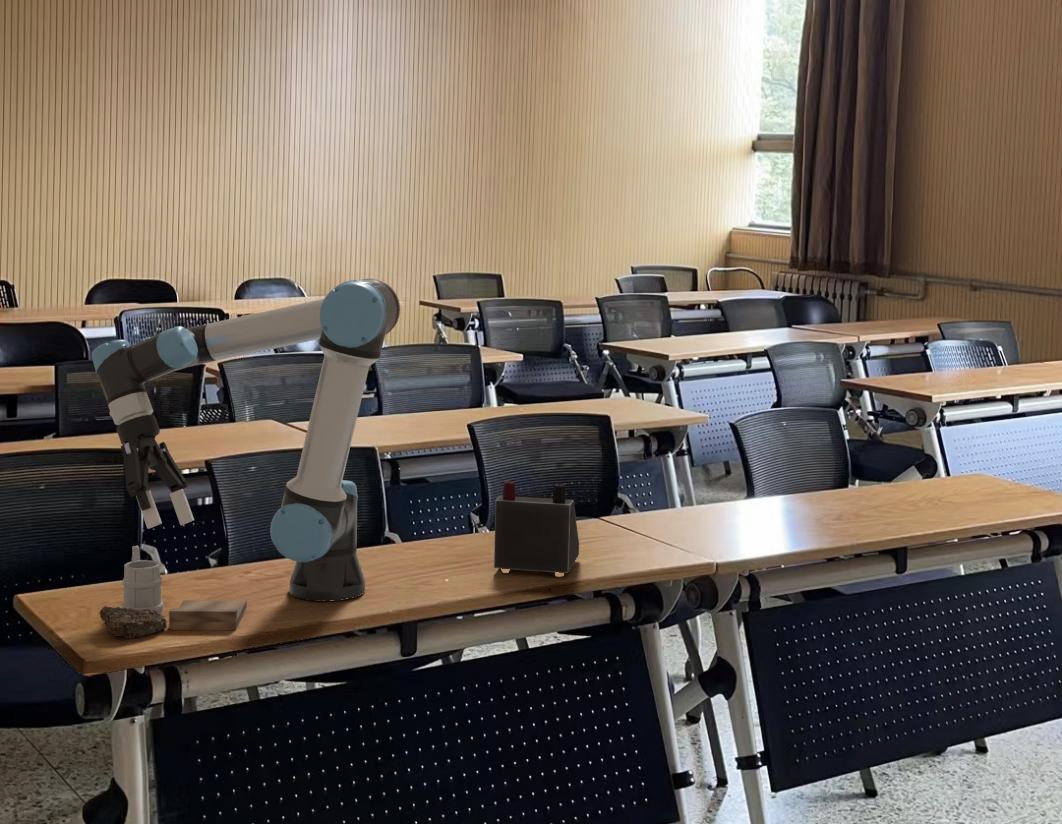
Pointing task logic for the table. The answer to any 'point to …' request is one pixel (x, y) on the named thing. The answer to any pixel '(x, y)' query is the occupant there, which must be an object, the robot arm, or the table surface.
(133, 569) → the mug
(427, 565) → the table surface
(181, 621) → the rest board
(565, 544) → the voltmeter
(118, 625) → the concrete sample
